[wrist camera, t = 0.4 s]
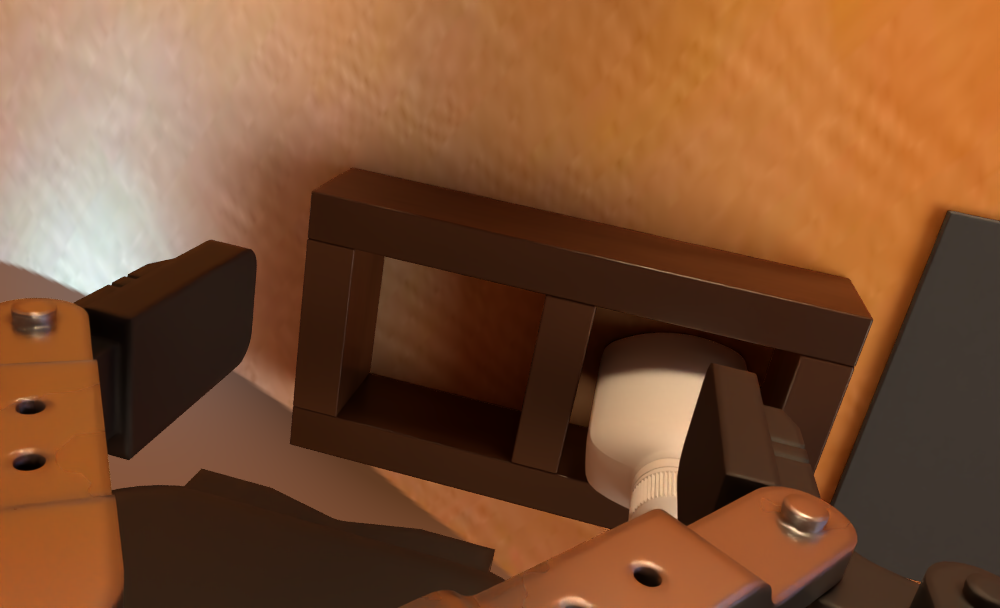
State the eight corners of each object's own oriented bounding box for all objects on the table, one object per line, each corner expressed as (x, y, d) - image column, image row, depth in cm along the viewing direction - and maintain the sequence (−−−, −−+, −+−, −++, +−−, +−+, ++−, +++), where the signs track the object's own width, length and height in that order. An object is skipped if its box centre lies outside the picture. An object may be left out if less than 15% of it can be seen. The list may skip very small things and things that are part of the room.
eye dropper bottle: (699, 444, 34) (712, 664, 23) (583, 374, 34) (540, 561, 23) (764, 365, 33) (810, 562, 22) (642, 290, 33) (625, 451, 22)
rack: (351, 166, 33) (310, 190, 29) (850, 278, 31) (874, 319, 27) (327, 398, 37) (289, 444, 33) (765, 511, 35) (776, 573, 31)
